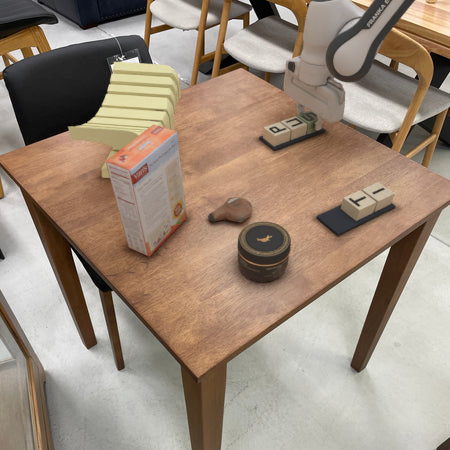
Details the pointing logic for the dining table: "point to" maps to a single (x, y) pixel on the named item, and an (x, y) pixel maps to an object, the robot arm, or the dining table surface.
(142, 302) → the dining table surface
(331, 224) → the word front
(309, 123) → the s tile
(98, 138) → the slatted curved stool
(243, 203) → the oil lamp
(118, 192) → the cracker box
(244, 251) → the jar
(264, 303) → the dining table surface
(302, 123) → the word back
